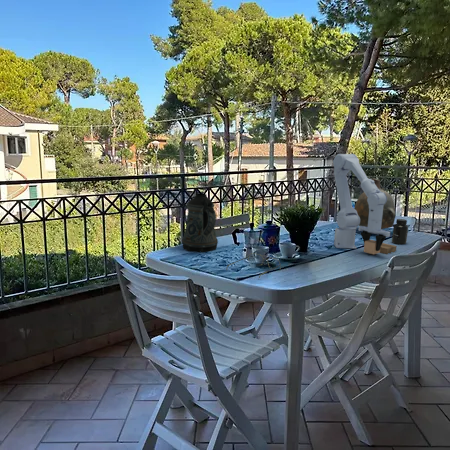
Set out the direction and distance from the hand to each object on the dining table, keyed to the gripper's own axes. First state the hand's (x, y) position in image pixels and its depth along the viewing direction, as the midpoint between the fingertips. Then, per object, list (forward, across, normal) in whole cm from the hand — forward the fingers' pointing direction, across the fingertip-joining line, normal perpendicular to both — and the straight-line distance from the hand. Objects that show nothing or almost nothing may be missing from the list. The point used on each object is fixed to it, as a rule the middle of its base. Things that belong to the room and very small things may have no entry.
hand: (372, 249), depth 192 cm
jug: (+3, +25, -40) cm, 47 cm away
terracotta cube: (+2, 0, 0) cm, 2 cm away
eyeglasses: (+3, +14, +59) cm, 61 cm away
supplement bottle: (+3, +3, -30) cm, 31 cm away
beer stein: (+3, +52, +56) cm, 77 cm away
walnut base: (+3, 0, -10) cm, 10 cm away
